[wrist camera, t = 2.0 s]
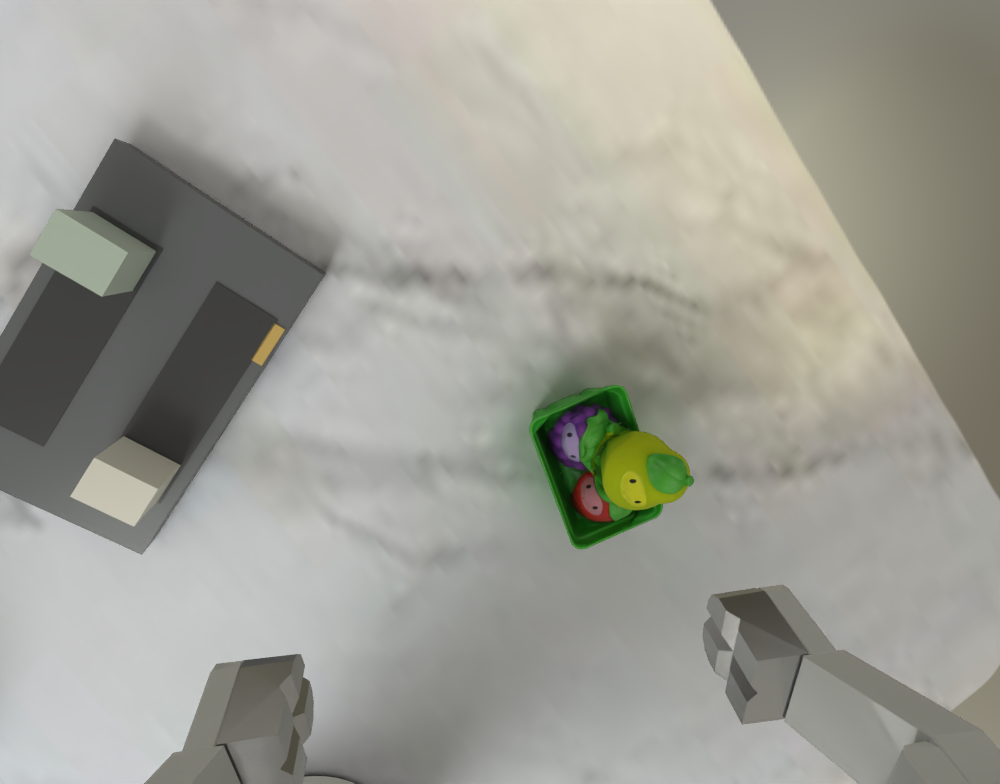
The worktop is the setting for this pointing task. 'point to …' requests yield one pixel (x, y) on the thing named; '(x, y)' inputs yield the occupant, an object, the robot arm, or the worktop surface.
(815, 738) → the robot arm
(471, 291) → the worktop surface
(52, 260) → the sage tab
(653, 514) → the fruit basket
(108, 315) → the switch panel
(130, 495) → the cream tab
